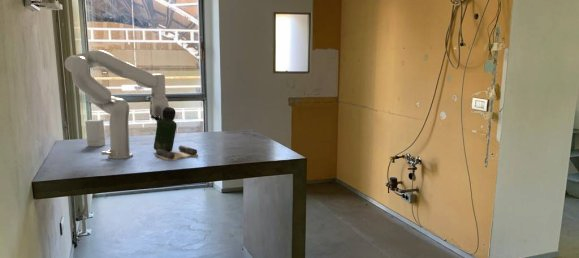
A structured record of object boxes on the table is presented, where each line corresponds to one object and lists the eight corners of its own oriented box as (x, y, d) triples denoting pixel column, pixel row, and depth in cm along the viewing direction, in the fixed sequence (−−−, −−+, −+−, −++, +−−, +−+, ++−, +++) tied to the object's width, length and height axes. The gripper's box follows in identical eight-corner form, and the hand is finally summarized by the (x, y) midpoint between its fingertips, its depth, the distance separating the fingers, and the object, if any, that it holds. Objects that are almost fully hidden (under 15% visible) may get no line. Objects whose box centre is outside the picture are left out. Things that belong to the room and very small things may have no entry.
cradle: (168, 160, 227) (168, 153, 227) (155, 156, 237) (155, 149, 236) (198, 155, 240) (197, 148, 240) (184, 151, 250) (183, 145, 249)
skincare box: (105, 144, 265) (104, 119, 262) (99, 147, 258) (98, 121, 256) (92, 144, 266) (91, 119, 263) (86, 146, 259) (84, 120, 257)
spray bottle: (166, 155, 243) (173, 114, 235) (149, 149, 244) (156, 108, 236) (175, 149, 253) (182, 109, 244) (159, 143, 254) (165, 103, 246)
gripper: (149, 97, 238) (151, 130, 241) (173, 95, 249) (175, 127, 252) (143, 96, 243) (144, 128, 246) (167, 94, 254) (168, 125, 257)
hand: (159, 127), depth 249 cm, fingers closed
